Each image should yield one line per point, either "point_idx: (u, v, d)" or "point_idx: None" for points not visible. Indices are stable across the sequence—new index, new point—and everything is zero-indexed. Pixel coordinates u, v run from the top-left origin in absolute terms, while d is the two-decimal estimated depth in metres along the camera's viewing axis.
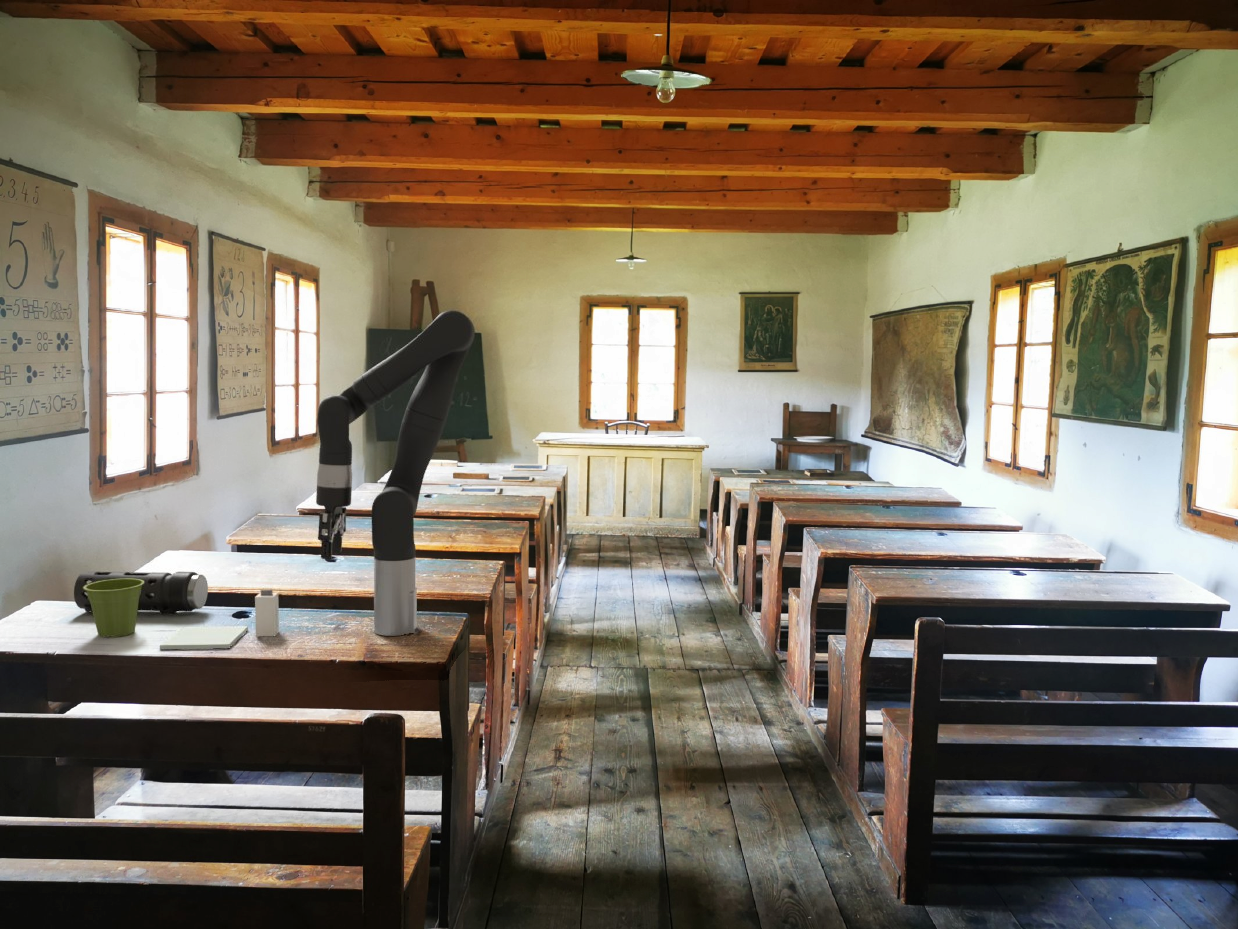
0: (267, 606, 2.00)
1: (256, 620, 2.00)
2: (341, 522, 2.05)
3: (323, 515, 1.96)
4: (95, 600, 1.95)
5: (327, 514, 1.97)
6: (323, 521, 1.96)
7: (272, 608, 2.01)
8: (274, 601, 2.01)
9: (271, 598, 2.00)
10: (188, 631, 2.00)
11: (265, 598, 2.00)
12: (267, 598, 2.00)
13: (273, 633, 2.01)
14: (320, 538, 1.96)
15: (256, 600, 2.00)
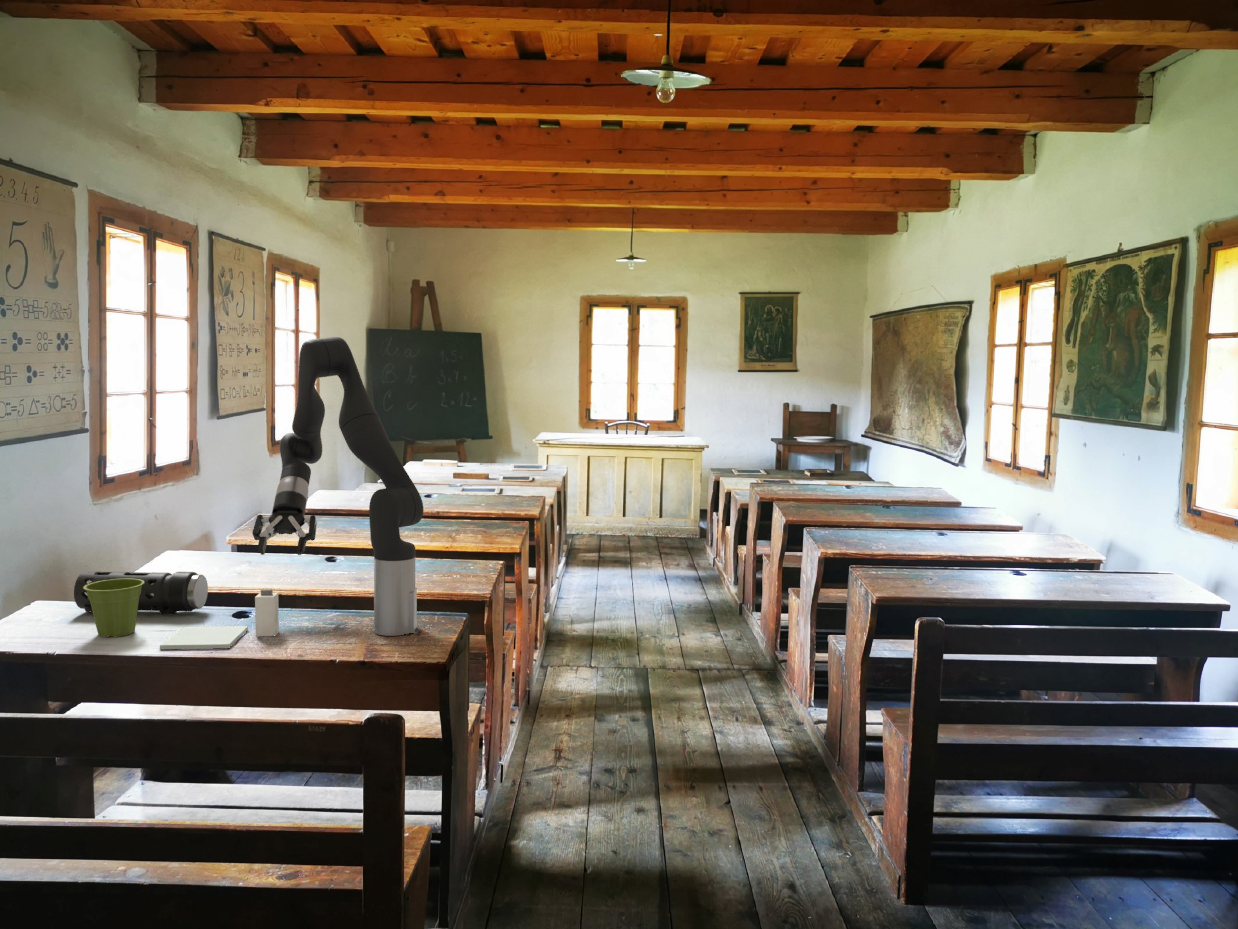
0: (267, 606, 2.00)
1: (256, 620, 2.00)
2: (292, 524, 2.19)
3: None
4: (95, 600, 1.95)
5: None
6: None
7: (272, 608, 2.01)
8: (274, 601, 2.01)
9: (271, 598, 2.00)
10: (188, 631, 2.00)
11: (265, 598, 2.00)
12: (267, 598, 2.00)
13: (273, 633, 2.01)
14: (254, 537, 2.18)
15: (256, 600, 2.00)
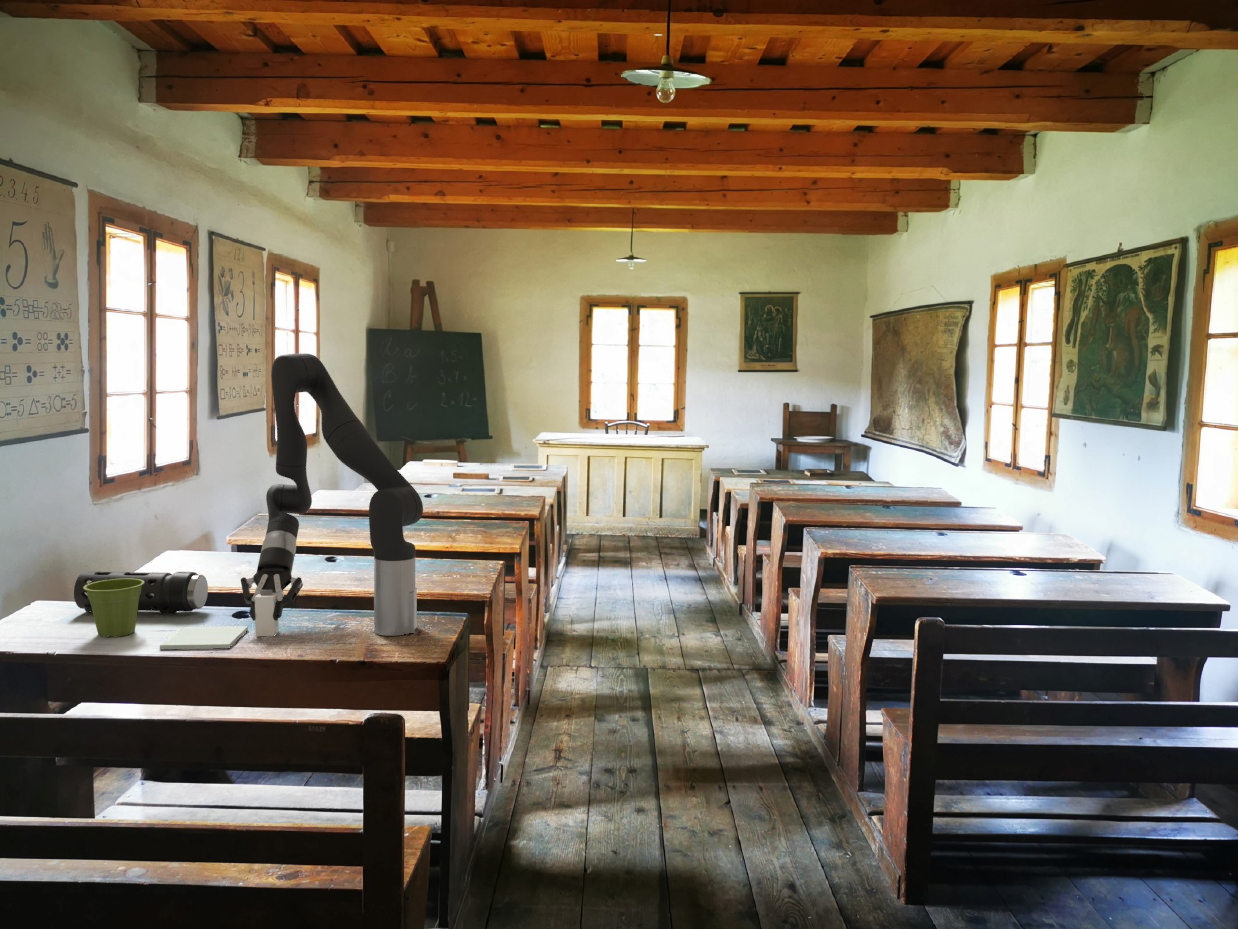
0: (267, 606, 2.00)
1: (256, 620, 2.00)
2: (275, 583, 2.05)
3: None
4: (95, 600, 1.95)
5: None
6: None
7: (272, 608, 2.01)
8: (274, 601, 2.01)
9: (271, 598, 2.00)
10: (188, 631, 2.00)
11: (265, 598, 2.00)
12: (267, 598, 2.00)
13: (273, 633, 2.01)
14: (245, 601, 2.04)
15: (256, 600, 2.00)
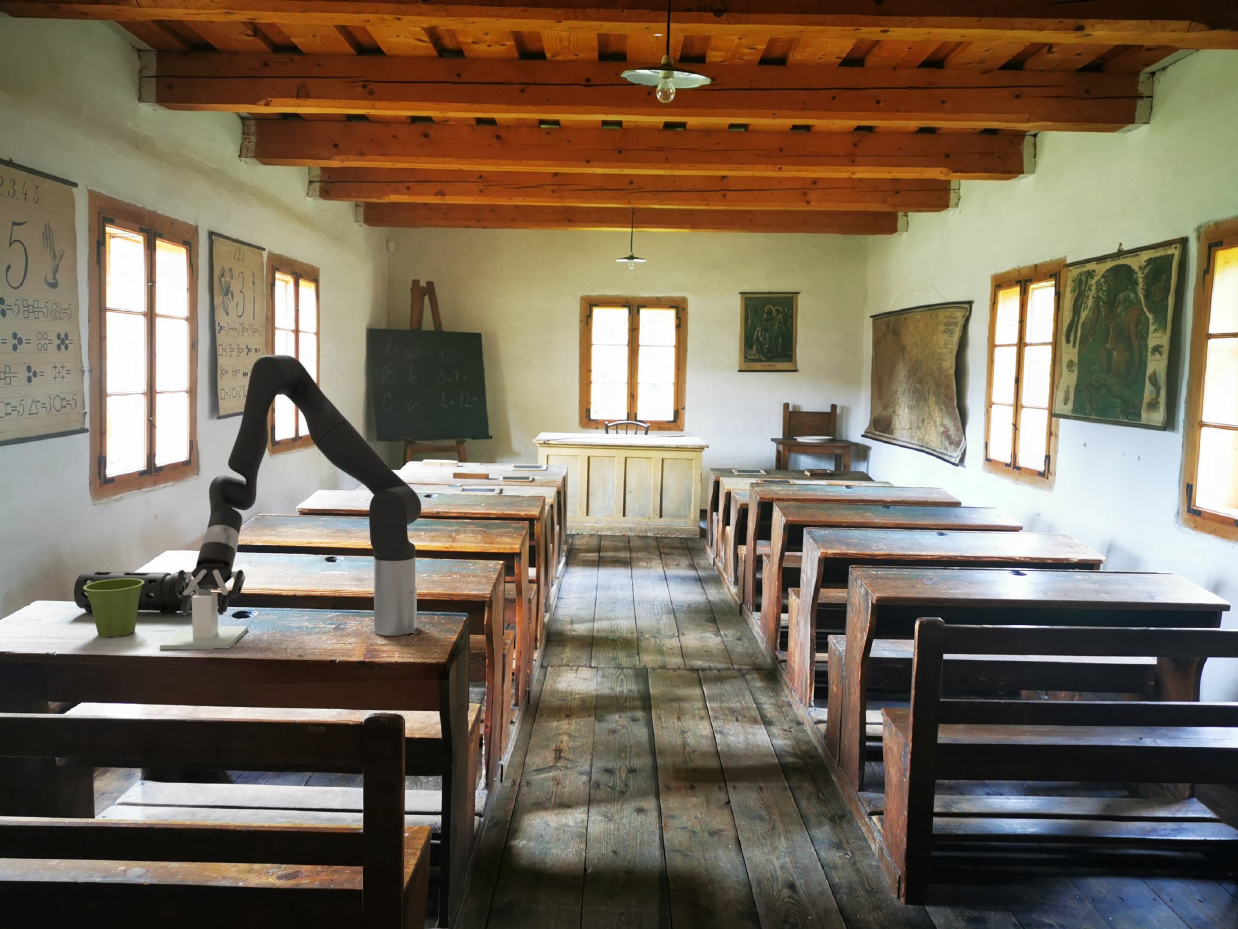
0: (204, 606, 1.95)
1: (193, 621, 1.95)
2: (215, 579, 1.99)
3: None
4: (95, 600, 1.95)
5: None
6: None
7: (209, 608, 1.95)
8: (212, 601, 1.96)
9: (208, 598, 1.95)
10: (188, 631, 2.00)
11: (202, 598, 1.95)
12: (204, 599, 1.95)
13: (211, 634, 1.96)
14: (177, 595, 1.98)
15: (193, 600, 1.95)
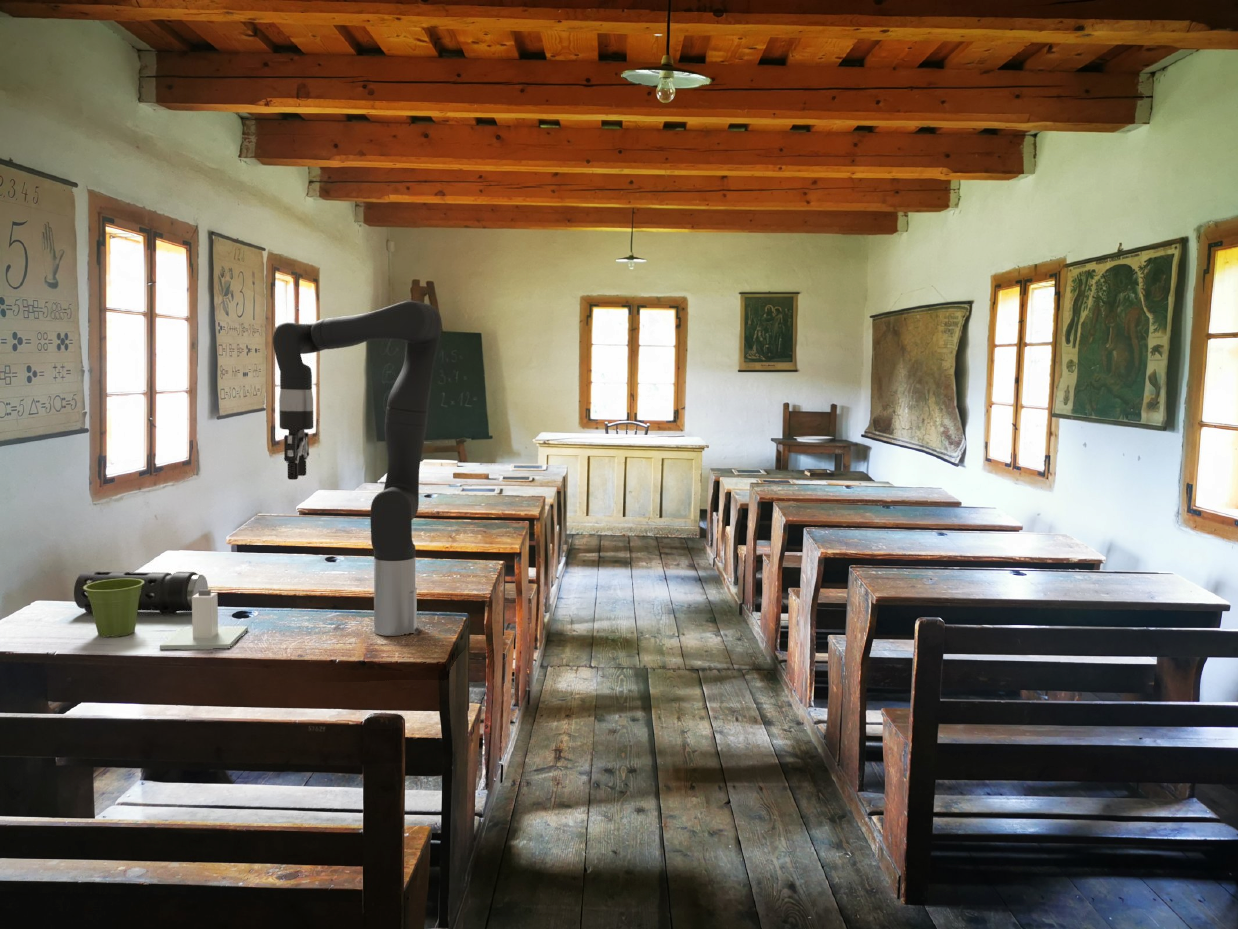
0: (204, 606, 1.95)
1: (193, 621, 1.95)
2: (305, 445, 2.14)
3: (288, 437, 2.05)
4: (95, 600, 1.95)
5: (292, 436, 2.06)
6: (288, 443, 2.06)
7: (209, 608, 1.95)
8: (212, 601, 1.96)
9: (208, 598, 1.95)
10: (188, 631, 2.00)
11: (202, 598, 1.95)
12: (204, 599, 1.95)
13: (211, 634, 1.96)
14: (286, 459, 2.06)
15: (193, 600, 1.95)
